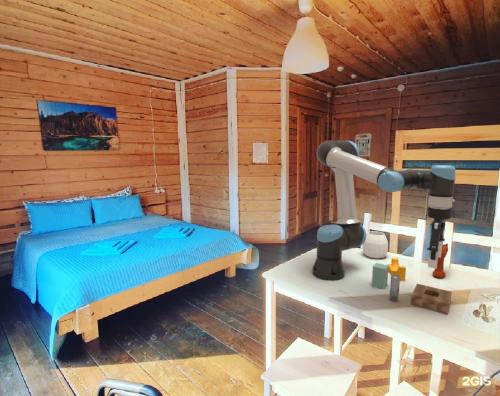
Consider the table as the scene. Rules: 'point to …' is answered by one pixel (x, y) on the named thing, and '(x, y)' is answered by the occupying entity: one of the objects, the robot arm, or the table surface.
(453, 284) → the table surface
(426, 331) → the table surface
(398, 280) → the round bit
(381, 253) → the white round pot
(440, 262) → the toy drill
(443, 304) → the socket block
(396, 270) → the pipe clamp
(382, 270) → the grey-green rectangular block
